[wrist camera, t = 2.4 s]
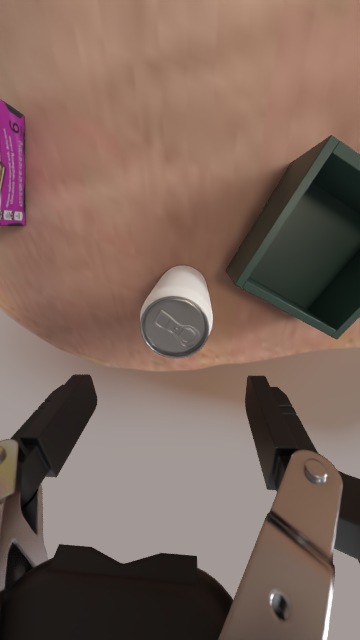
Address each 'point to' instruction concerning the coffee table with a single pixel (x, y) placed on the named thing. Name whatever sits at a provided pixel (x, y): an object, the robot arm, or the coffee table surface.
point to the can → (177, 313)
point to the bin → (309, 241)
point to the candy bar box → (12, 166)
